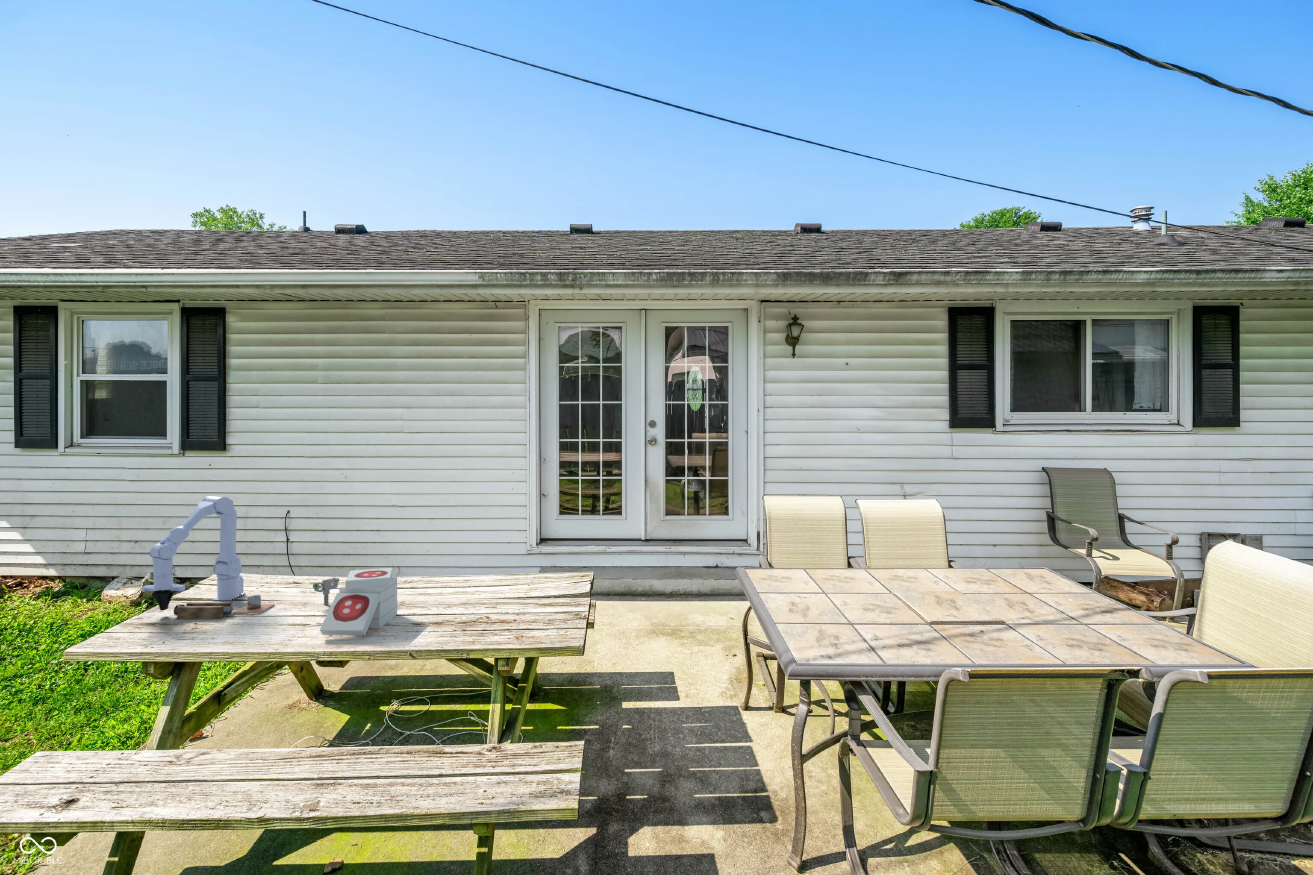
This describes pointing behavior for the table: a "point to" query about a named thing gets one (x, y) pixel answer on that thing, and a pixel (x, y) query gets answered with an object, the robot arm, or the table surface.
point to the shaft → (225, 609)
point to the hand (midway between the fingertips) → (164, 609)
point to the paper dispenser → (362, 603)
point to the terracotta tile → (260, 610)
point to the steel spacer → (254, 602)
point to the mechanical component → (326, 587)
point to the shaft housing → (202, 610)
